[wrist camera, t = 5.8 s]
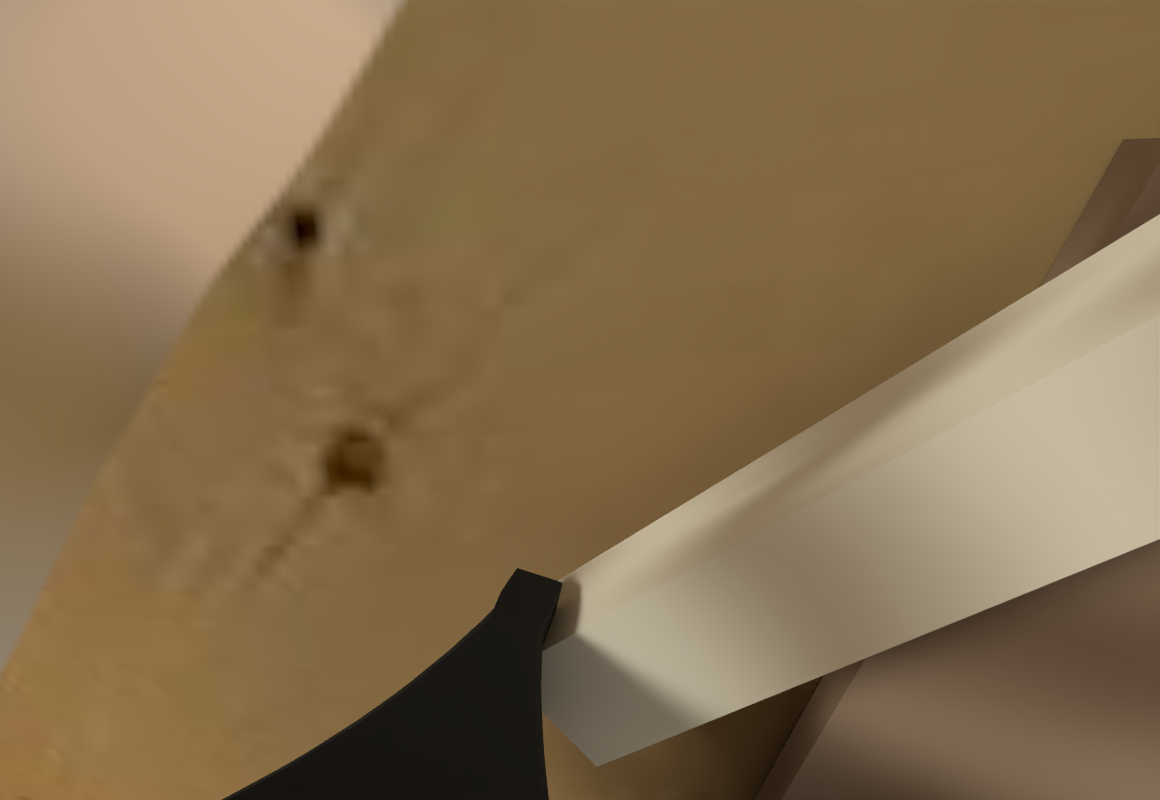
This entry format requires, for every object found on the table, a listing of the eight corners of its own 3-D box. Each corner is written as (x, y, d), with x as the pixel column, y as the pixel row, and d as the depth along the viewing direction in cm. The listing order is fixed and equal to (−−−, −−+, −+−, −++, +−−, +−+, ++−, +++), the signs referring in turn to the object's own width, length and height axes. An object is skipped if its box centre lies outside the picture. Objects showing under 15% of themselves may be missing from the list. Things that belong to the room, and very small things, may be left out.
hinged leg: (1331, 109, 6) (1606, 87, 4) (1431, 279, 7) (1727, 330, 5) (537, 592, 12) (498, 682, 10) (616, 674, 12) (594, 778, 10)
